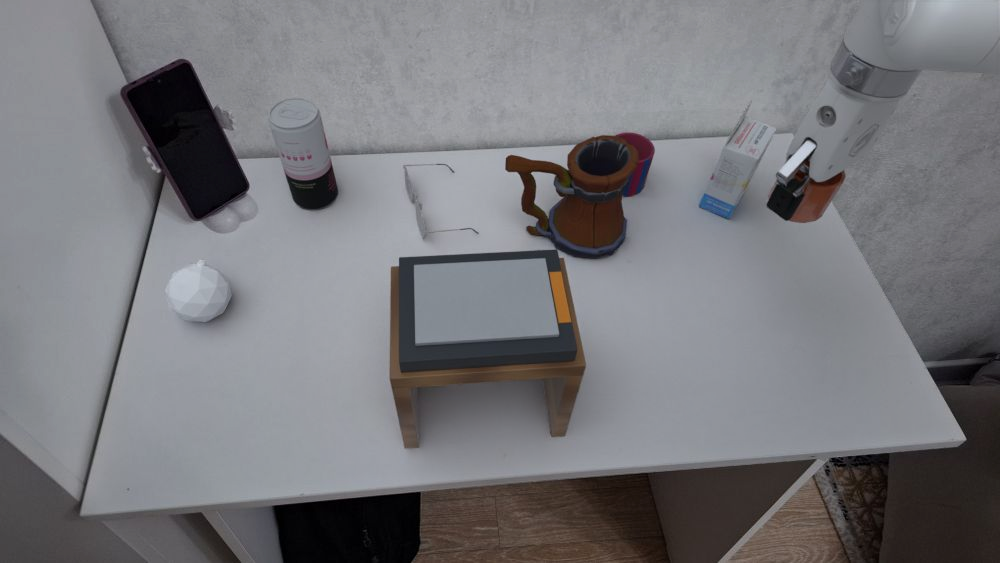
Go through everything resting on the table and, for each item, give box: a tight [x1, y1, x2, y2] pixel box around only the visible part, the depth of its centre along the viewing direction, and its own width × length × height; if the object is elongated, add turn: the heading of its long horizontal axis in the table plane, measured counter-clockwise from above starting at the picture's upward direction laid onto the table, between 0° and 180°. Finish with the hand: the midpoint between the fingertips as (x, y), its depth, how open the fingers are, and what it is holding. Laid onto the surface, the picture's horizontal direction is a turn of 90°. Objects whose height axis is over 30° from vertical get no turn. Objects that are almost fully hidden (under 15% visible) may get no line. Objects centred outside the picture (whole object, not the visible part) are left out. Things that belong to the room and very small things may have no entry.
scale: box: [398, 248, 578, 373], centre depth 59 cm, size 16×12×2 cm
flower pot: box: [767, 160, 847, 224], centre depth 72 cm, size 6×6×6 cm
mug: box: [504, 134, 640, 259], centre depth 83 cm, size 18×12×15 cm, turn 95°
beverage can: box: [267, 96, 339, 211], centre depth 85 cm, size 6×7×15 cm
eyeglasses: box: [402, 163, 479, 240], centre depth 89 cm, size 14×8×4 cm, turn 18°
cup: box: [614, 132, 656, 197], centre depth 93 cm, size 7×10×7 cm
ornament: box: [164, 259, 233, 323], centre depth 75 cm, size 7×7×8 cm
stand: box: [389, 257, 587, 449], centre depth 66 cm, size 18×13×16 cm
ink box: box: [698, 98, 777, 220], centre depth 88 cm, size 8×5×15 cm, turn 147°
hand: (797, 199), depth 73 cm, fingers closed on flower pot, 6 cm apart
